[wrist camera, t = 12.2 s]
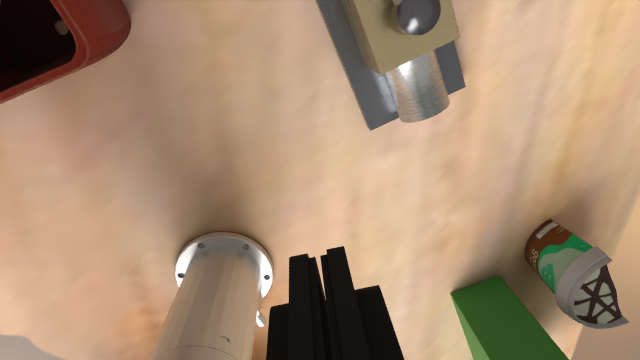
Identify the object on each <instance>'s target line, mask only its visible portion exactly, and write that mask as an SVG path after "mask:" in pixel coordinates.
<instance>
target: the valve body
mask: <svg viewBox="0 0 640 360" xmlns="http://www.w3.org/2000/svg"><path fill="white" fill-rule="evenodd" d="M439 1H440V5H441V13H440V17H439V20H438V22H437V24H436V25H435V26H434V28H433V29H432V30H430V31H429V32H427V33H425V34H423V35H407V34H403V33H401V32H399V31H398V30H397V29H396V28H395V26H394V24H393V21H392V9H393V6H394V3H393V1H392V0H316V3H317V5H318V7H319V10H320V12H321V15H322V17H323V20H324V22H325V24H326V27H327V29H328V32H329V34H330V37H331V39H332V41H333V44H334V46H335V49H336V51H337V54H338V56H339V59H340V61H341V63H342V66H343V68H344V71H345V73H346V76H347V78H348V80H349V83H350V85H351V88H352V90H353V93H354V95H355V98H356V100H357V102H358V105H359V107H360V110H361V112H362V115H363V117H364V119H365V122H366V124H367V127H368V128H369V130H370V131H371V130H373V129H375V128H377V127H380V126H382V125H384V124H386V123H388V122H390V121H393V120H395V119H397V118H400V120H401V121H402V122H406V123H411V122H417V121H422V120H425V119H428V118H430V117H433V116H435V115H437V114H439V113H440V112H442V111H443V110H445V109H446V108H447V107H448V106H449V104H450V101H449V98H448V95H449V94H451V93H453V92H455V91H458V90H460V89H462V88H464V87H466V86H465V83H464V79H463V75H462V71H461V67H460V64H459V60H458V56H457V52H456V48H455V44H454V41H453V40H455V39H457V38H459V37H460V34H459V30H458V27H457V23H456V19H455V15H454V11H453V7H452V3H451V0H439Z"/></svg>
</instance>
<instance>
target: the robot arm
mask: <svg viewBox="0 0 640 360" xmlns="http://www.w3.org/2000/svg"><path fill="white" fill-rule="evenodd" d="M321 265H322V273H323V281H324V288H325V295H324V291H323V287H322V283H321V279H320V274H319V270H318V266H317V262H316V258H315V257H312V258H309V257H308V254H303V255H298V256H293V257H290V258H289V303H288V304H283V305H278V306H273V307H271V309H270V316H269V329H268V342H267V355H266V360H404V357H403V354H402V351H401V348H400V346H399V343H398V340H397V337H396V334H395V331H394V328H393V325H392V322H391V319H390V316H389V313H388V310H387V307H386V304H385V301H384V298H383V295H382V292H381V290H380V287H379V285H377V286H372V287H367V288H362V289H357V290H354V287H353V282H352V278H351V274H350V270H349V266H348V261H347V257H346V253H345V249H344V246H342V247H337V248H332V249H327V255H322V256H321ZM175 278H176V282H177V285H178V286H179V289H178V291H177V293H176V296H175V298H174V300H173V303H172V305H171V307H170V310H169V312H168V314H167V317H166V319H165V321H164V324H163V326H162V328H161V331H160V333H159V335H158V338H157V340H156V342H155V345H154V347H153V349H152V351H151V354H150V356H149V358H148V360H251V359H252V350H253V342H254V336H255V334H256V330H255V325H257V326H258V327H262V326H264V325H265V323H266V319H265V317H264V316H263V315H262V313H260V304H261V300H262V299H263V298H264V297H265V296H266V294H267V293H268V292H269V290H270V287H271V285H272V281H273V264H272V262H271V259H270V257H269V255H268V254H267V252H266V251H265V250H264V249H263V248H262V247H261V246H260V245H259V244H258V243H257V242H255V241H254V240H252V239H250V238H248V237H246V236H243V235H240V234H236V233H230V232H214V233H209V234H205V235H203V236H200V237H198V238H196V239H194V240H193V241H191V242H190V243H189V244H188V245H187V246H186V247H184V249H183V250H182V252H181V253H180V255H179V257H178V259H177V262H176V266H175ZM325 296H326V299H325Z"/></svg>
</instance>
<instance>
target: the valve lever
mask: <svg viewBox="0 0 640 360" xmlns="http://www.w3.org/2000/svg"><path fill="white" fill-rule="evenodd" d="M392 1H393V3H394V6H393V9H392V21H393V24H394V26H395V28H396V29H397V30H398V31H399V32H401V33H403V34H407V35H423V34H425V33H427V32H429V31H430V30H432V29H433V28H434V26H435V25H436V24H437V22H438V20H439V17H440V13H441V5H440V1H439V0H392Z"/></svg>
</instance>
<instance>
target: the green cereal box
mask: <svg viewBox="0 0 640 360" xmlns="http://www.w3.org/2000/svg"><path fill="white" fill-rule="evenodd" d="M450 294H451V297H452V299H453V302H454V305H455V308H456V311H457V314H458V316H459V319H460V322H461V325H462V328H463V330H464V333H465V336H466V339H467V342H468V344H469V347H470V350H471V353H472V356H473V359H474V360H569V359H568V358H567V357H566V355H565V354H564V353H563V352H562V351H561V349H560V348H559V347H558V346H557V345H556V343H555V342H554V341H553V340H552V339H551V337H550V336H549V335H548V334H547V333H546V331H545V330H544V329H543V328H542V327H541V325H540V324H539V323H538V322H537V321H536V319H535V318H534V317H533V316H532V315H531V313H530V312H529V311H528V310H527V309H526V307H525V306H524V305H523V304H522V303H521V301H520V300H519V299H518V298H517V297H516V295H515V294H514V293H513V292H512V291H511V289H510V288H509V287H508V286H507V285H506V283H505V282H504V281H503V280H502V279H501V277H500V276H499V275H497V276H494V277H492V278H489V279H487V280H484V281H481V282H479V283H476V284H473V285H471V286H468V287H465V288H463V289H460V290H457V291H455V292H452V293H450Z"/></svg>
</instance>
